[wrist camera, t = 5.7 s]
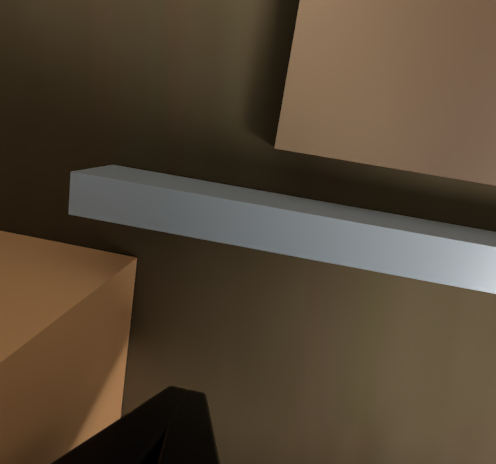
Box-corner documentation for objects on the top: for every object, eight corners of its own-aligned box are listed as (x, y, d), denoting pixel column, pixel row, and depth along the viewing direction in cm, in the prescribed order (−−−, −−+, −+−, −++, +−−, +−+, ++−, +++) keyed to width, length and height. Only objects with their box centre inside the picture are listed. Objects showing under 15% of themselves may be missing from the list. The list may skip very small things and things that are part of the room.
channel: (790, 283, 8) (922, 322, 7) (619, 620, 10) (683, 717, 9) (113, 164, 9) (70, 171, 8) (86, 494, 11) (49, 558, 10)
